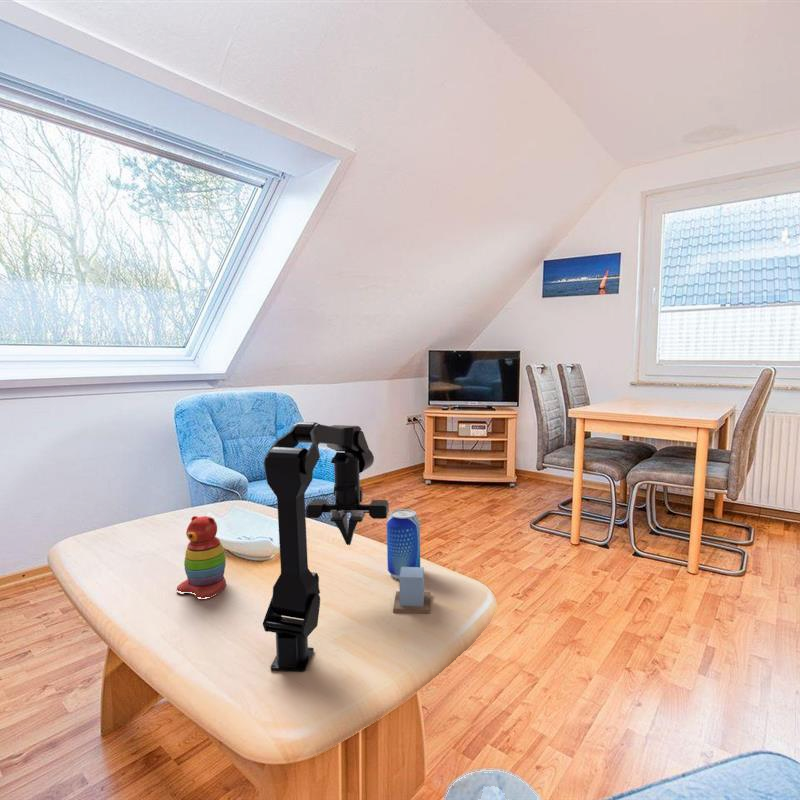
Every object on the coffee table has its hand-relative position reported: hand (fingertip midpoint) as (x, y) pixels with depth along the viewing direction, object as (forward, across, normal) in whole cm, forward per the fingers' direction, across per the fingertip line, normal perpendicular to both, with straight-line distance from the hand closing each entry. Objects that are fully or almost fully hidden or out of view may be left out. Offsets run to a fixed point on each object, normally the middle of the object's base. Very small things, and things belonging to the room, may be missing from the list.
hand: (348, 544), depth 116 cm
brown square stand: (+12, -15, +4) cm, 20 cm away
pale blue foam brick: (+11, -15, +4) cm, 19 cm away
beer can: (+12, -12, -11) cm, 20 cm away
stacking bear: (+12, +36, -1) cm, 38 cm away
